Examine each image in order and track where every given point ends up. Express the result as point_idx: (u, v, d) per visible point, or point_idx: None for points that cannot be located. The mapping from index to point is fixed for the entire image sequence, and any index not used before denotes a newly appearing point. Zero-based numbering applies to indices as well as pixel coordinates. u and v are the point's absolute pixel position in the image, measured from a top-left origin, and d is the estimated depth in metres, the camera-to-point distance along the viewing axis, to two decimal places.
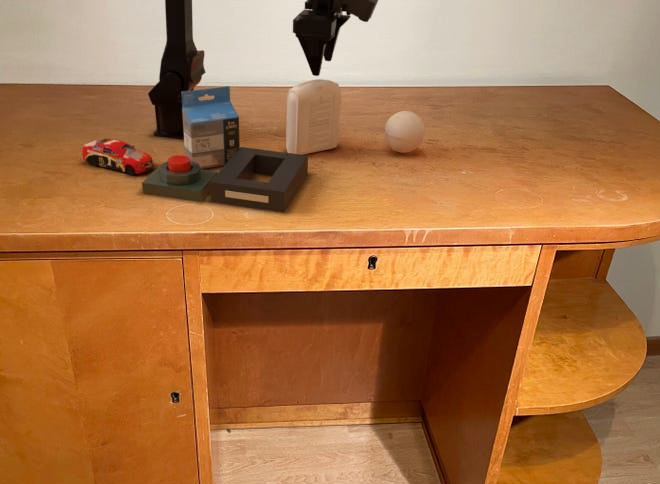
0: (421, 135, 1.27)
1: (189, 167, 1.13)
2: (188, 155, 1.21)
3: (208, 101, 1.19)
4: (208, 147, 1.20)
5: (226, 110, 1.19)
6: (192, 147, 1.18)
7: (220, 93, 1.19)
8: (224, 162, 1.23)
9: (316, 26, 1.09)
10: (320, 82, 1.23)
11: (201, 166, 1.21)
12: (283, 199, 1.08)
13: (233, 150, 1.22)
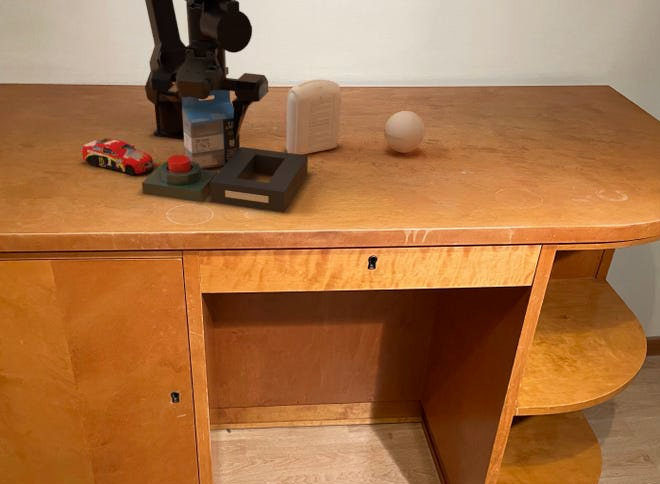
0: (421, 135, 1.27)
1: (189, 167, 1.13)
2: (188, 155, 1.21)
3: (208, 101, 1.19)
4: (208, 147, 1.20)
5: (226, 110, 1.19)
6: (192, 147, 1.18)
7: (220, 93, 1.19)
8: (224, 162, 1.23)
9: None
10: (320, 82, 1.23)
11: (201, 166, 1.21)
12: (283, 199, 1.08)
13: (233, 150, 1.22)
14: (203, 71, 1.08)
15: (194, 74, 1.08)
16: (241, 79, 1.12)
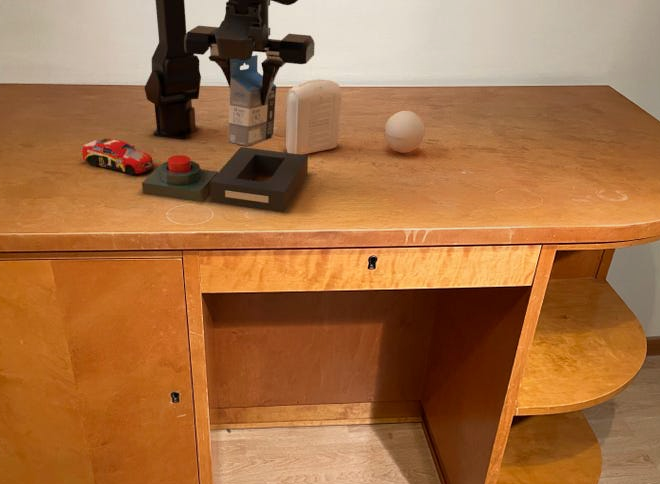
0: (421, 135, 1.27)
1: (189, 167, 1.13)
2: (238, 131, 1.09)
3: (245, 71, 1.09)
4: (258, 119, 1.10)
5: None
6: (249, 119, 1.07)
7: (251, 63, 1.11)
8: (265, 136, 1.14)
9: None
10: (320, 82, 1.23)
11: (253, 141, 1.10)
12: (283, 199, 1.08)
13: (270, 123, 1.14)
14: (245, 29, 0.97)
15: (236, 32, 0.97)
16: (286, 39, 1.01)
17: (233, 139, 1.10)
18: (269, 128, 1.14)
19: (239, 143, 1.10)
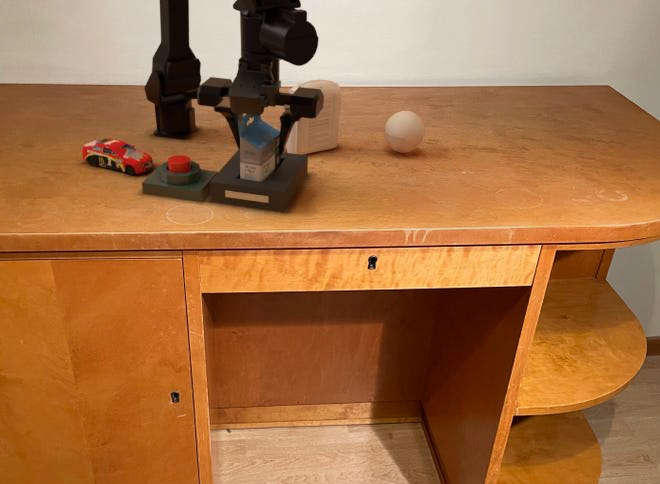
0: (421, 135, 1.27)
1: (189, 167, 1.13)
2: None
3: (251, 124, 1.11)
4: (268, 170, 1.13)
5: (268, 129, 1.13)
6: (261, 175, 1.10)
7: None
8: None
9: None
10: (320, 82, 1.23)
11: None
12: (283, 199, 1.08)
13: (278, 167, 1.17)
14: (258, 86, 1.00)
15: (248, 89, 1.00)
16: (296, 94, 1.04)
17: None
18: None
19: None
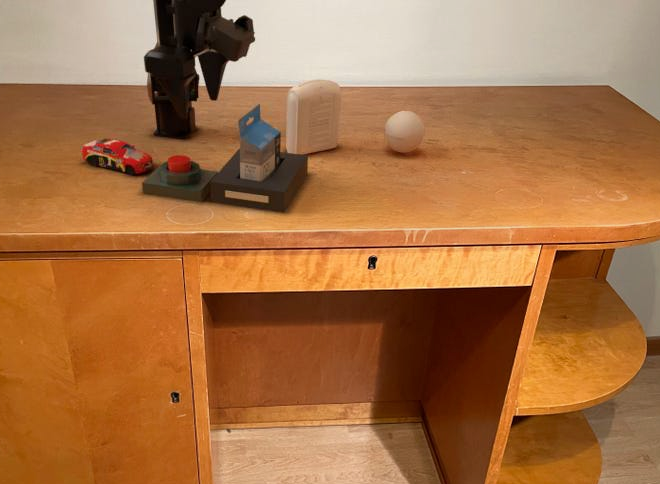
0: (421, 135, 1.27)
1: (189, 167, 1.13)
2: None
3: (251, 124, 1.11)
4: (268, 170, 1.13)
5: (268, 129, 1.13)
6: (261, 174, 1.10)
7: (255, 113, 1.12)
8: None
9: (166, 65, 0.96)
10: (320, 82, 1.23)
11: None
12: (283, 199, 1.08)
13: (278, 167, 1.17)
14: (236, 26, 1.00)
15: (238, 31, 0.99)
16: None
17: None
18: None
19: None
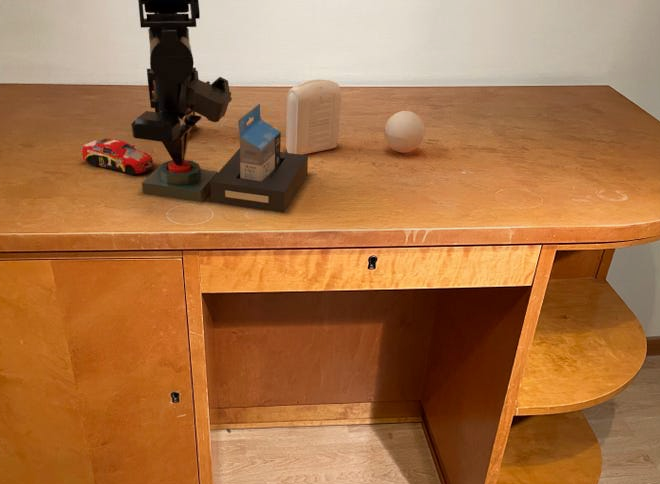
0: (421, 135, 1.27)
1: None
2: None
3: (251, 124, 1.11)
4: (268, 170, 1.13)
5: (268, 129, 1.13)
6: (261, 174, 1.10)
7: (255, 113, 1.12)
8: None
9: (155, 131, 1.01)
10: (320, 82, 1.23)
11: None
12: (283, 199, 1.08)
13: (278, 167, 1.17)
14: (214, 88, 1.06)
15: (217, 93, 1.05)
16: None
17: None
18: None
19: None
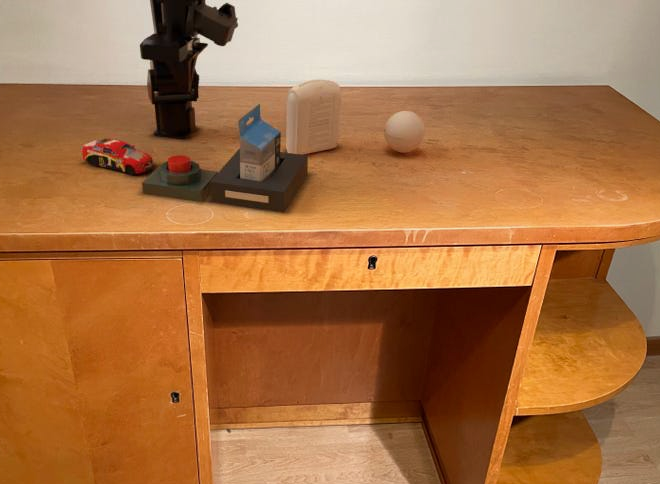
0: (421, 135, 1.27)
1: (189, 167, 1.13)
2: None
3: (251, 124, 1.11)
4: (268, 170, 1.13)
5: (268, 129, 1.13)
6: (261, 174, 1.10)
7: (255, 113, 1.12)
8: None
9: (163, 52, 1.03)
10: (320, 82, 1.23)
11: None
12: (283, 199, 1.08)
13: (278, 167, 1.17)
14: (221, 13, 1.08)
15: (224, 18, 1.07)
16: None
17: None
18: None
19: None
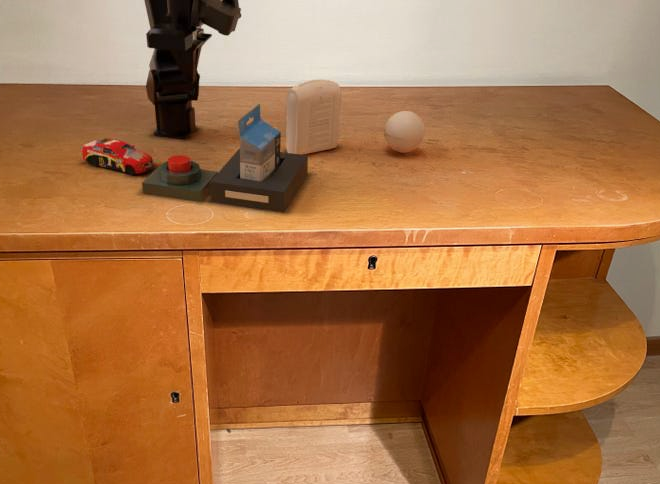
0: (421, 135, 1.27)
1: (189, 167, 1.13)
2: None
3: (251, 124, 1.11)
4: (268, 170, 1.13)
5: (268, 129, 1.13)
6: (261, 174, 1.10)
7: (255, 113, 1.12)
8: None
9: (169, 40, 1.05)
10: (320, 82, 1.23)
11: None
12: (283, 199, 1.08)
13: (278, 167, 1.17)
14: (225, 4, 1.11)
15: (228, 8, 1.10)
16: None
17: None
18: None
19: None
